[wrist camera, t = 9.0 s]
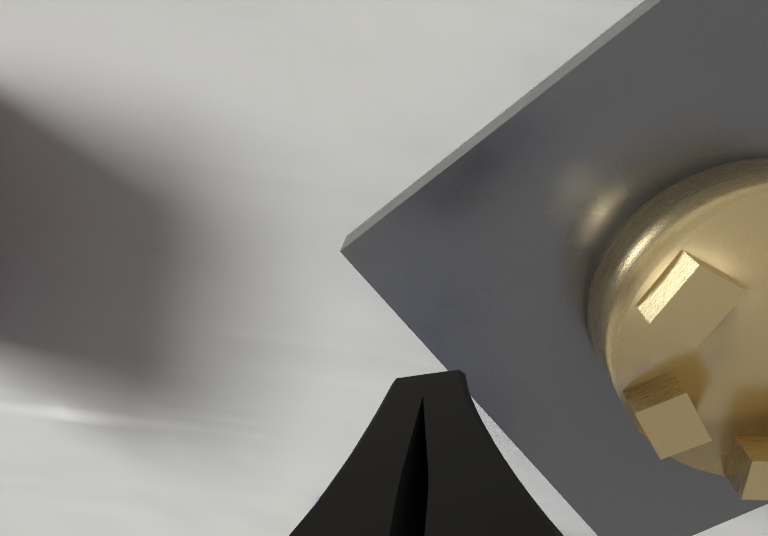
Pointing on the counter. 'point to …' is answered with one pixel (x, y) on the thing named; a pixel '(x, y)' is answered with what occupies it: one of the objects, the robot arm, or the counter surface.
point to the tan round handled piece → (693, 322)
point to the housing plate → (574, 247)
